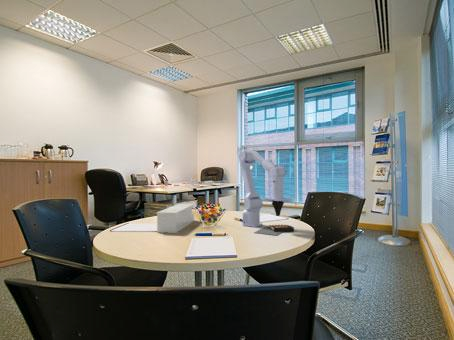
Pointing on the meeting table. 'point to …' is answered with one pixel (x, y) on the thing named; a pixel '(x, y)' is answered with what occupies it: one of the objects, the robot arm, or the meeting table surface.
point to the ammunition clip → (281, 228)
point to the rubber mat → (268, 231)
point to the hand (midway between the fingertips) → (278, 215)
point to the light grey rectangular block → (175, 218)
